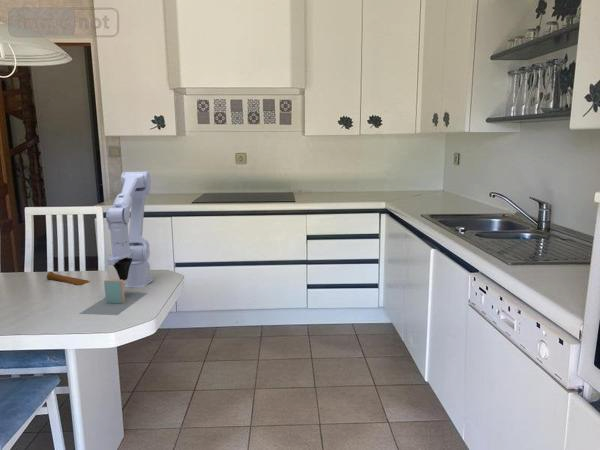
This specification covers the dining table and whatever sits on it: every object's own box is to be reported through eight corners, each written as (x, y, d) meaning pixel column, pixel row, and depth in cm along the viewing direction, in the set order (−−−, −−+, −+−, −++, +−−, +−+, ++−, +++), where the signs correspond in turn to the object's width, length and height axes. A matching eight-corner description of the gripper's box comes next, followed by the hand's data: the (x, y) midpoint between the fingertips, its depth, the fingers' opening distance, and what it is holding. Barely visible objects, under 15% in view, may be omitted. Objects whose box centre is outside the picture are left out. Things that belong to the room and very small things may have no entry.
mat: (114, 293, 164) (113, 292, 164) (147, 294, 162) (147, 292, 162) (79, 314, 144) (79, 313, 144) (117, 316, 142) (117, 314, 142)
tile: (108, 301, 154) (106, 279, 153) (124, 302, 153) (122, 279, 152) (105, 303, 153) (103, 280, 151) (122, 303, 152) (120, 281, 150)
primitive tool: (90, 282, 179) (89, 273, 178) (80, 286, 174) (79, 278, 173) (53, 278, 185) (52, 270, 184) (42, 282, 180) (40, 274, 179)
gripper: (120, 237, 163) (123, 273, 166) (97, 246, 149) (101, 285, 152) (138, 237, 162) (141, 273, 165) (117, 246, 148) (121, 286, 151)
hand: (123, 279), depth 158 cm, fingers closed
